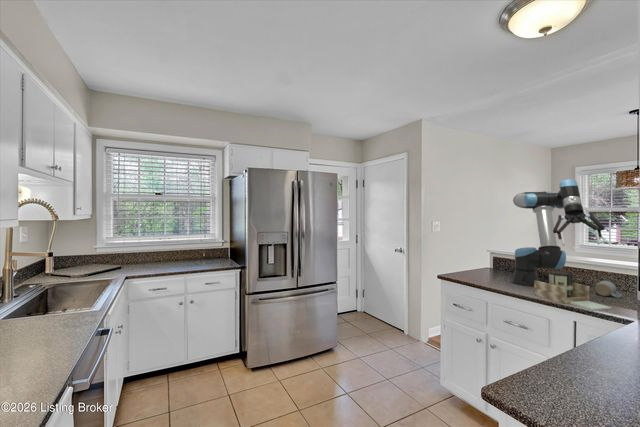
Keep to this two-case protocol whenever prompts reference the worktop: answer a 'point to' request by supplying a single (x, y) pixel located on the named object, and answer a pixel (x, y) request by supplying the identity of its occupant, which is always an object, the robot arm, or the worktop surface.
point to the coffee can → (562, 281)
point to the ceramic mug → (607, 289)
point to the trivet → (590, 305)
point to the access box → (561, 292)
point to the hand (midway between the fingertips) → (580, 244)
